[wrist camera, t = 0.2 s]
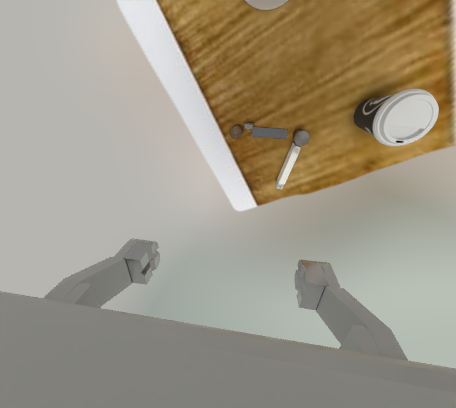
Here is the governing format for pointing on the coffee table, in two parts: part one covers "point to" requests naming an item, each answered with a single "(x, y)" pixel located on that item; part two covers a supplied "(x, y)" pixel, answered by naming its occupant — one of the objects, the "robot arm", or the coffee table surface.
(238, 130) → the brown rounded cylinder
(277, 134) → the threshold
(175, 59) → the coffee table surface
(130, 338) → the robot arm
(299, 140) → the hinge post
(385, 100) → the coffee cup
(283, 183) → the white long block
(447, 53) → the coffee table surface
